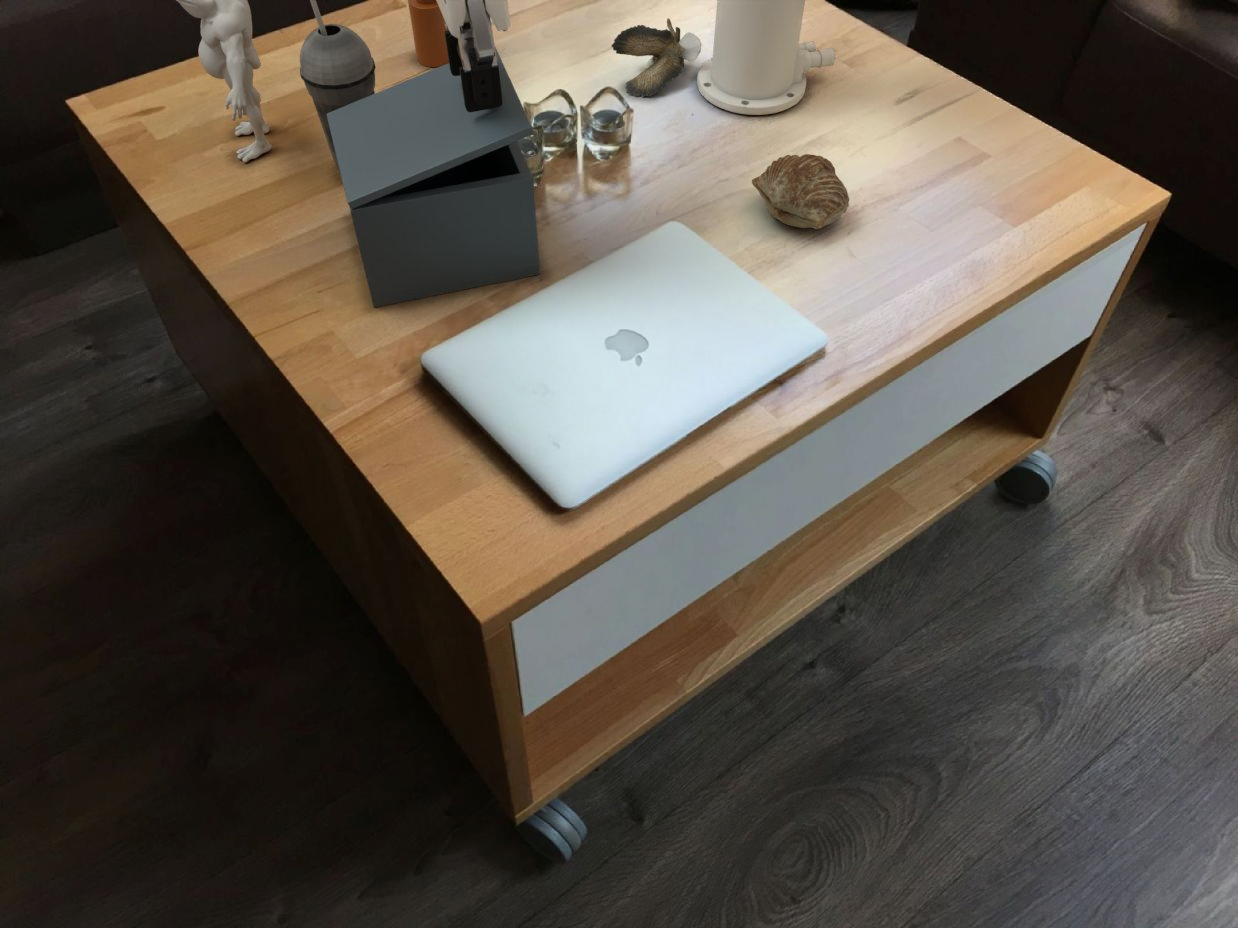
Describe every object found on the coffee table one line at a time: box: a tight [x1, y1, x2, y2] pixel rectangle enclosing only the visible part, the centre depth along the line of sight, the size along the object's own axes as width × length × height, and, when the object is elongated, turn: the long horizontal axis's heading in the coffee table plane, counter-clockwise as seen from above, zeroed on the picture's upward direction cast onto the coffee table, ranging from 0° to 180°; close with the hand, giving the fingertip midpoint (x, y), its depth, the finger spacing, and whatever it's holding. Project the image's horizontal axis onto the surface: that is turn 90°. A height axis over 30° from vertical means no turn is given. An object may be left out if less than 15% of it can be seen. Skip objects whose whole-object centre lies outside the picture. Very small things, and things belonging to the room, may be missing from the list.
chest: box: [348, 141, 541, 308], centre depth 96 cm, size 16×14×11 cm
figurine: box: [175, 0, 272, 163], centre depth 104 cm, size 18×7×18 cm, turn 16°
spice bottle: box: [407, 0, 449, 68], centre depth 119 cm, size 4×4×10 cm
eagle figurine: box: [610, 17, 702, 98], centre depth 118 cm, size 8×7×9 cm
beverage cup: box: [299, 0, 377, 177], centre depth 101 cm, size 7×7×20 cm
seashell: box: [751, 153, 850, 230], centre depth 101 cm, size 9×7×8 cm
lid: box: [326, 39, 535, 209], centre depth 88 cm, size 17×14×5 cm
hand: (476, 87), depth 89 cm, fingers closed on lid, 5 cm apart
